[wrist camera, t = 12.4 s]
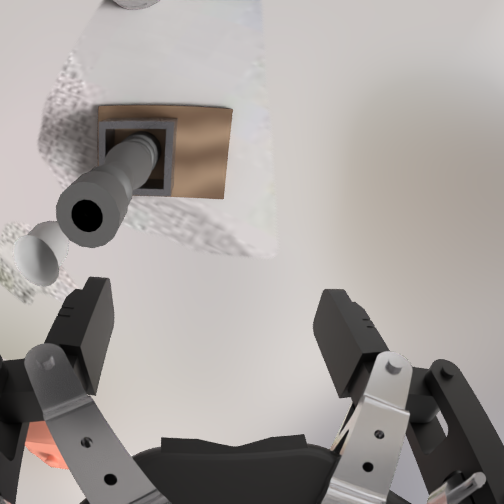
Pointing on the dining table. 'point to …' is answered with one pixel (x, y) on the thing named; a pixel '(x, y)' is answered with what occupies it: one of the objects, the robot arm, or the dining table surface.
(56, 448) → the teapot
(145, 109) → the keeper plate
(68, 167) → the dining table surface
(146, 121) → the collar
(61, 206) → the candle holder
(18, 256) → the chalice
